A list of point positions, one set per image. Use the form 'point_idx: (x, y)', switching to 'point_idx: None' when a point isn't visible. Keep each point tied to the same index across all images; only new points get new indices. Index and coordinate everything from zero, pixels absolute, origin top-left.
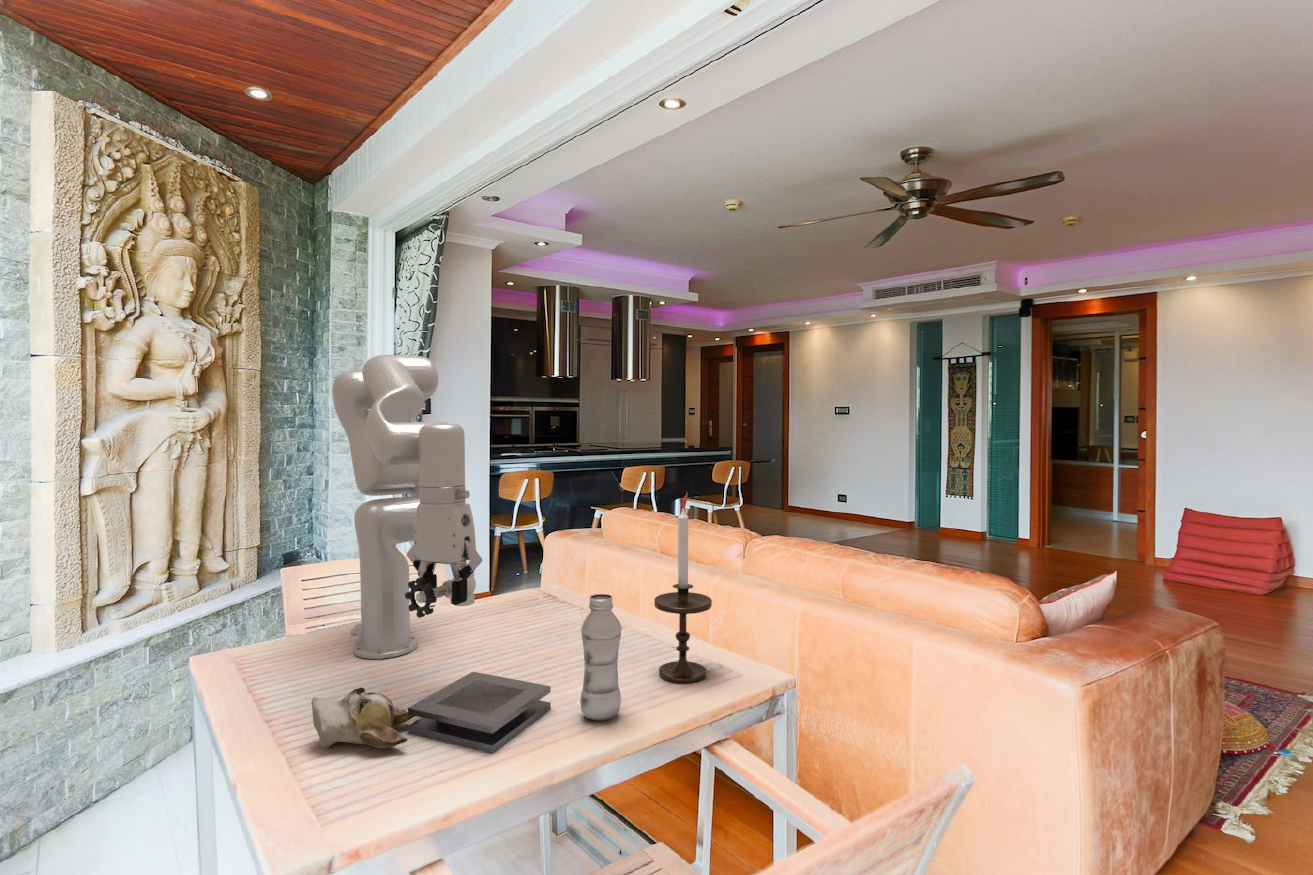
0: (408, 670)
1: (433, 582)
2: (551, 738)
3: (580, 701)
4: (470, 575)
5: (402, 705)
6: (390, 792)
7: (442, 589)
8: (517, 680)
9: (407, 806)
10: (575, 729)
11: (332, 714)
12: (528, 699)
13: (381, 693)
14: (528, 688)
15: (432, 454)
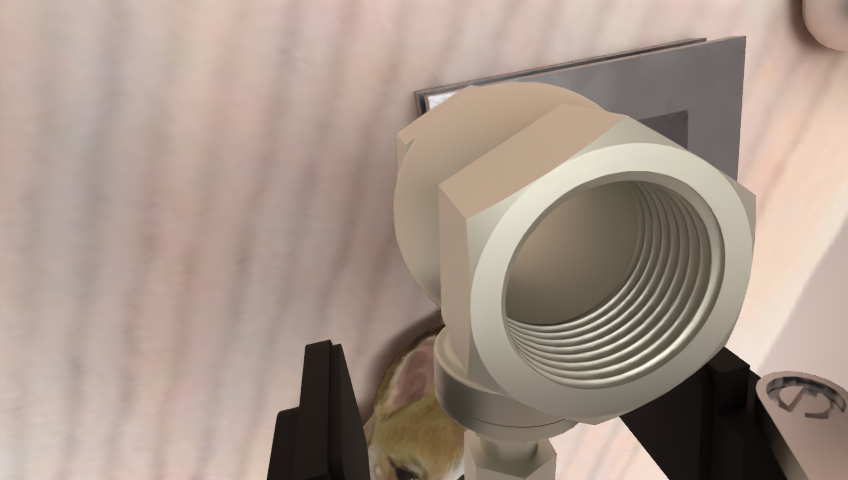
0: (14, 80)
1: (350, 458)
2: (765, 166)
3: (833, 32)
4: (835, 385)
5: (303, 271)
6: (605, 466)
7: (553, 475)
8: (622, 63)
9: (658, 466)
10: (799, 95)
11: None
12: (730, 155)
13: (437, 462)
14: (690, 93)
15: None
